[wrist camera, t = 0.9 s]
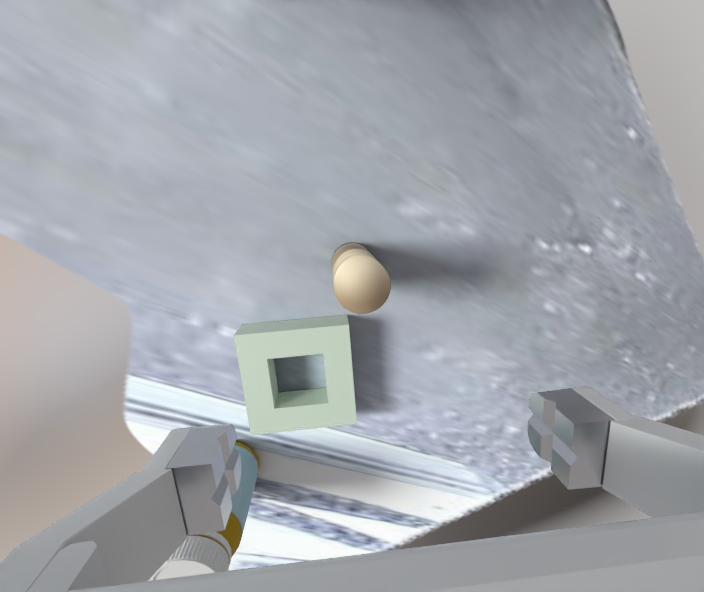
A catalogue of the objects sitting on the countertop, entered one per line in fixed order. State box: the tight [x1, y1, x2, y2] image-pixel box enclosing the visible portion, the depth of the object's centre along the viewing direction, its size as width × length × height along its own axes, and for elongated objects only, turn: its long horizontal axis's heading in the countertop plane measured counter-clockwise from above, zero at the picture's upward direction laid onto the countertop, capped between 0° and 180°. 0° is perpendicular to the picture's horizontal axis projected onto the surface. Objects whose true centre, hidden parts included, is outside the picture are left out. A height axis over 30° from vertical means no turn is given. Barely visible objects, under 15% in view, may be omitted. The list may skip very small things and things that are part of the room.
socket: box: [234, 315, 357, 435], centre depth 39 cm, size 12×12×4 cm
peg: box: [332, 242, 391, 314], centre depth 33 cm, size 4×4×12 cm
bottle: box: [149, 442, 259, 581], centre depth 36 cm, size 7×7×15 cm
